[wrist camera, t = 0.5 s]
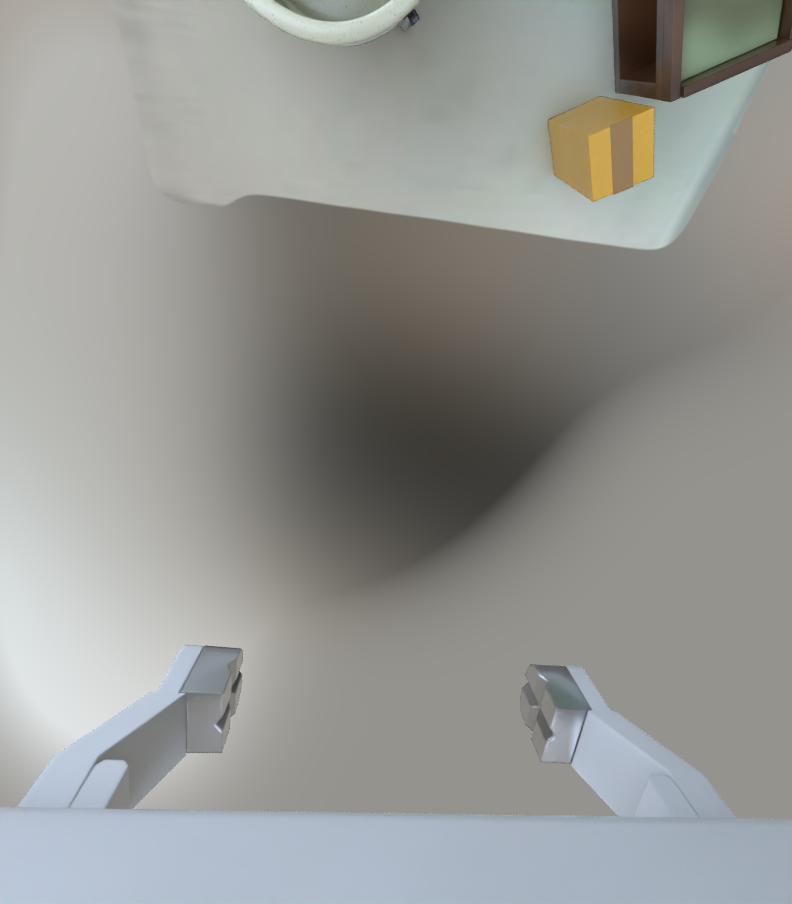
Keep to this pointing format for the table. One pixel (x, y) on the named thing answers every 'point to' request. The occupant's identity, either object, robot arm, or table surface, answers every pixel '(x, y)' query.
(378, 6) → the planter
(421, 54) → the table surface
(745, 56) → the rack
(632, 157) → the package
